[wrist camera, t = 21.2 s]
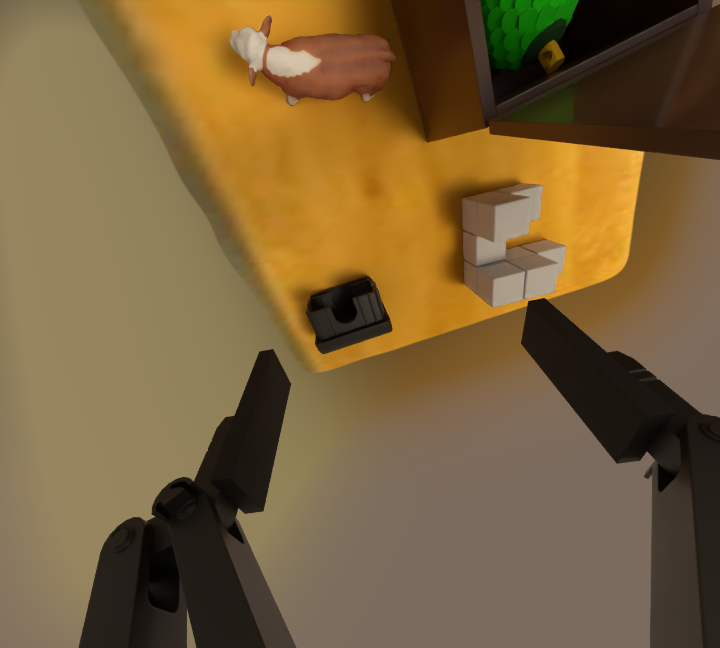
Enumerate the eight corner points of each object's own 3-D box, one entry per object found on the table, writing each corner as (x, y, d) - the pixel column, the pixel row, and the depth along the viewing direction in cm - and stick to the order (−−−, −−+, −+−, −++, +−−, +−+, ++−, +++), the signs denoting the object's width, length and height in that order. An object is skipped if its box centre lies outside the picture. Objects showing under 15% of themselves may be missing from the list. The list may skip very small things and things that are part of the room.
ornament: (486, -106, 19) (558, 19, 18) (578, -126, 20) (647, -10, 20) (438, 33, 27) (487, 122, 26) (505, 11, 28) (553, 96, 27)
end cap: (323, 336, 43) (324, 363, 37) (305, 296, 39) (302, 319, 33) (385, 315, 42) (396, 339, 36) (372, 273, 39) (381, 292, 33)
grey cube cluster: (543, 265, 41) (587, 284, 34) (463, 285, 41) (492, 308, 34) (553, 175, 35) (610, 176, 28) (461, 198, 35) (494, 205, 28)
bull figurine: (244, 48, 26) (215, 3, 19) (384, 57, 28) (405, 19, 21) (252, 106, 28) (229, 85, 21) (381, 112, 30) (400, 94, 23)
